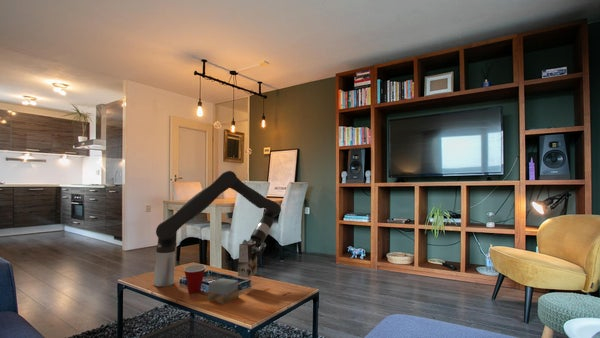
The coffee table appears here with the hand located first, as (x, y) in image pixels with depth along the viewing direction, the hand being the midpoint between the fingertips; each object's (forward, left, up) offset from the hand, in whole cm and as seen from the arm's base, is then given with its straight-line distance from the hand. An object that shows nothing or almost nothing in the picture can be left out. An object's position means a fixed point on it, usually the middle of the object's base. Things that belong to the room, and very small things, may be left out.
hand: (246, 258), depth 161 cm
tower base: (-1, -16, -16) cm, 22 cm away
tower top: (-1, -16, -12) cm, 20 cm away
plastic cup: (-20, -16, -16) cm, 30 cm away
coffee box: (0, +2, -9) cm, 9 cm away
